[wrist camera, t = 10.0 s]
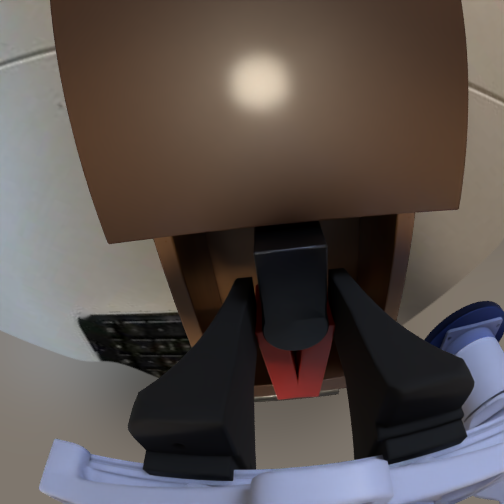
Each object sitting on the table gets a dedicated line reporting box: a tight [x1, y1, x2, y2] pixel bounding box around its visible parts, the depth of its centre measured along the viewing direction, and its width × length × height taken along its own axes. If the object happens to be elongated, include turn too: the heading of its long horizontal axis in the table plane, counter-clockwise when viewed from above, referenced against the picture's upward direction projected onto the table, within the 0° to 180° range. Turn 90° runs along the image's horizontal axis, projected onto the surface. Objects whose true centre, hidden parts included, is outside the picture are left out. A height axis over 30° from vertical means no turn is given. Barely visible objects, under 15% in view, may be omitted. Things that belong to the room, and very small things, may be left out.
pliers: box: [253, 221, 335, 400], centre depth 13 cm, size 3×9×4 cm, turn 7°
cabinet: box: [50, 0, 468, 244], centre depth 10 cm, size 15×13×8 cm
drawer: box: [153, 213, 415, 402], centre depth 17 cm, size 18×11×6 cm, turn 7°
